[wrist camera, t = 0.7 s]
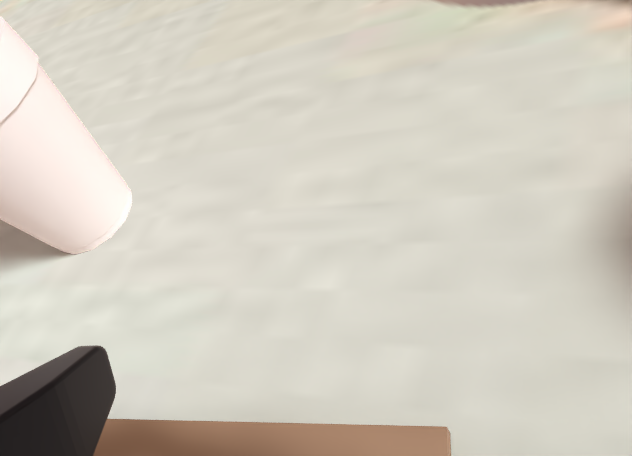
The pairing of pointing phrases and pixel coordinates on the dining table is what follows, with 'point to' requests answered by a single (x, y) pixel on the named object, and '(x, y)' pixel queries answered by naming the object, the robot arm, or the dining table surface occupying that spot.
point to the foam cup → (52, 160)
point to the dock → (267, 439)
